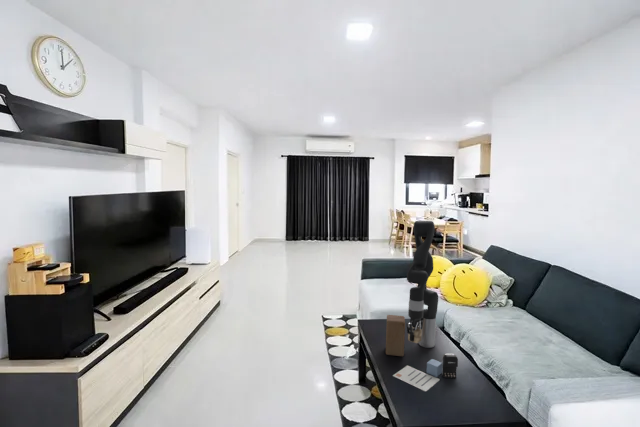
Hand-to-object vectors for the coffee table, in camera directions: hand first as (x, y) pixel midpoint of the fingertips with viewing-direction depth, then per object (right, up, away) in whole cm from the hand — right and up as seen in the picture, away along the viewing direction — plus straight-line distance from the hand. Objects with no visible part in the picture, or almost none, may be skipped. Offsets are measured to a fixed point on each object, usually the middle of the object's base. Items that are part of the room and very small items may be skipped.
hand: (414, 339), depth 181 cm
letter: (-2, -15, -11) cm, 19 cm away
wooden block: (-7, -13, +15) cm, 21 cm away
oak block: (0, -1, 0) cm, 1 cm away
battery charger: (+15, -16, -10) cm, 24 cm away
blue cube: (+8, -15, -6) cm, 18 cm away
